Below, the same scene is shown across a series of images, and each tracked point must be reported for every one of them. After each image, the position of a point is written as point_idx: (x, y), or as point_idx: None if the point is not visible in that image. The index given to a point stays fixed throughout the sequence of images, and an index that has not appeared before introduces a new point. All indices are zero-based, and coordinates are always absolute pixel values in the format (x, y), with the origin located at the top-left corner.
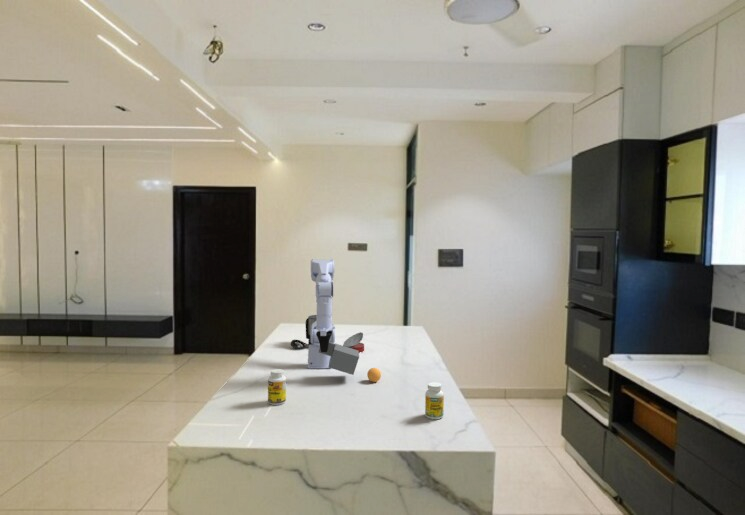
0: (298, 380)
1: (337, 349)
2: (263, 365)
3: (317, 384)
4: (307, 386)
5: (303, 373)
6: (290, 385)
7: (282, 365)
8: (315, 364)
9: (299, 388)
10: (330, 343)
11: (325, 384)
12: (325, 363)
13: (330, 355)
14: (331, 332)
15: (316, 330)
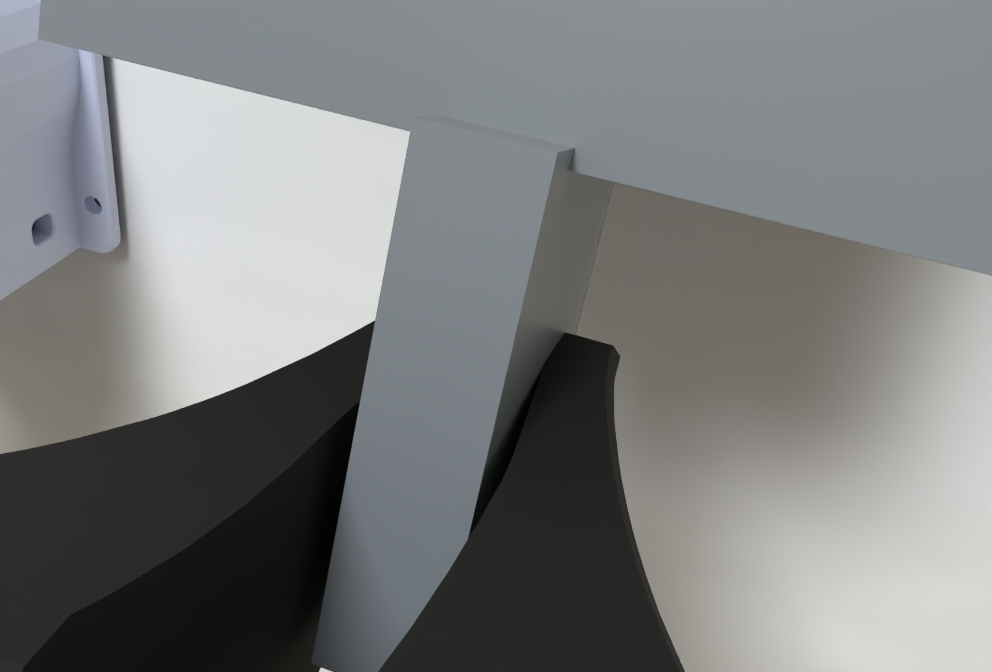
0: None
1: (945, 104)
2: None
3: (866, 262)
4: (906, 409)
5: (312, 337)
6: (778, 571)
7: None
8: (47, 165)
9: (952, 514)
10: (507, 386)
11: None
12: (21, 12)
13: (610, 184)
14: (56, 656)
15: None
